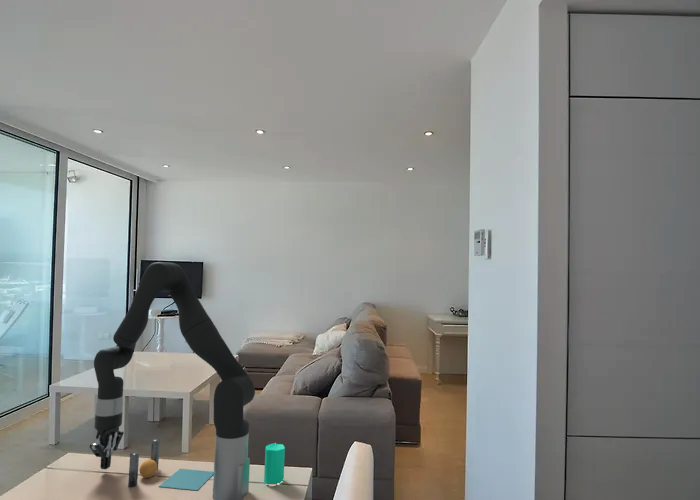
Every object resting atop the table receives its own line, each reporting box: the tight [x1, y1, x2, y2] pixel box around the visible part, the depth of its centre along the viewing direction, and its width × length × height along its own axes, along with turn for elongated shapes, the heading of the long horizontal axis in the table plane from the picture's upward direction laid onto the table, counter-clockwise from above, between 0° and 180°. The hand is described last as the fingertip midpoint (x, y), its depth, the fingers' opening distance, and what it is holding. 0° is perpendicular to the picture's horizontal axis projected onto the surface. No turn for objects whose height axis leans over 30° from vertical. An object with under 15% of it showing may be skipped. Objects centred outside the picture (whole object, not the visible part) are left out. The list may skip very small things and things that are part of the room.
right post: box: [150, 438, 161, 470], centre depth 138 cm, size 2×2×9 cm
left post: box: [127, 451, 140, 488], centre depth 127 cm, size 2×2×9 cm
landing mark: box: [158, 468, 214, 492], centre depth 131 cm, size 12×12×1 cm
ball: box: [138, 459, 158, 479], centre depth 132 cm, size 5×5×5 cm
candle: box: [263, 441, 286, 484], centre depth 132 cm, size 6×6×12 cm
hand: (105, 468), depth 134 cm, fingers closed
